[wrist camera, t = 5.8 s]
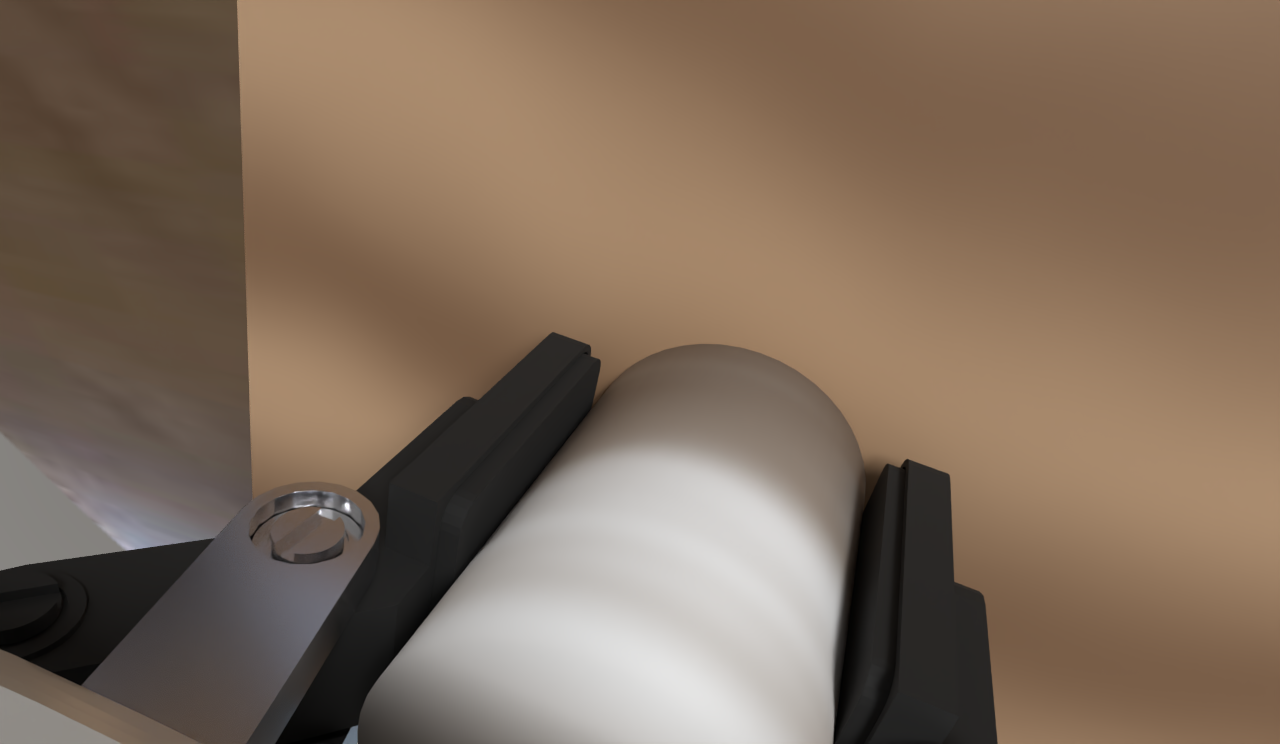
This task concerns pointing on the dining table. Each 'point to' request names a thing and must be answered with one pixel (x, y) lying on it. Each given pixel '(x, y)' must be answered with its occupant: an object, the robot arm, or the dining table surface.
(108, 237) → the dining table surface
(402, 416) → the walnut lid
